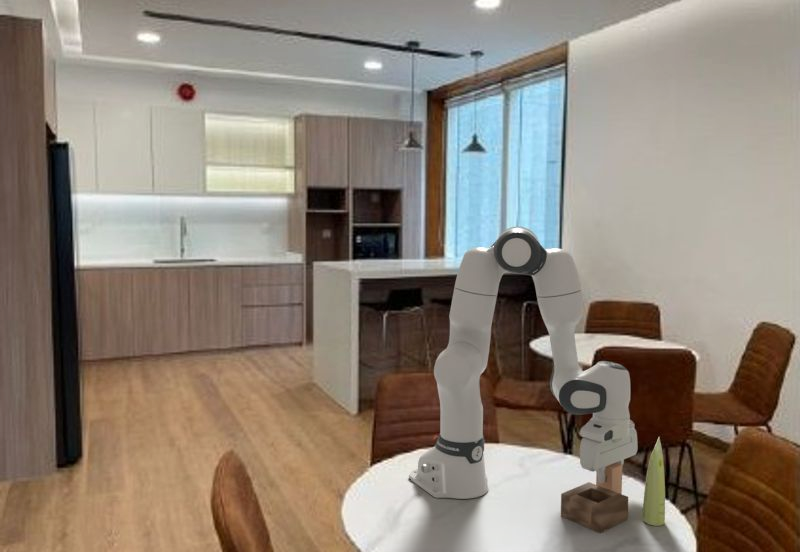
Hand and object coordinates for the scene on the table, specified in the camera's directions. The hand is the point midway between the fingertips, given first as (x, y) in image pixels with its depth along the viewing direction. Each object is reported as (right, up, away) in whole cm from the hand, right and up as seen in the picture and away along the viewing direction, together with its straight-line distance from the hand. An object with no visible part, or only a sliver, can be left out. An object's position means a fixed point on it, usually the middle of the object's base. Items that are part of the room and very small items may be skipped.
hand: (609, 479), depth 166 cm
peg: (0, -5, 0) cm, 5 cm away
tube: (+6, -7, -12) cm, 15 cm away
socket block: (-7, -6, -10) cm, 14 cm away
